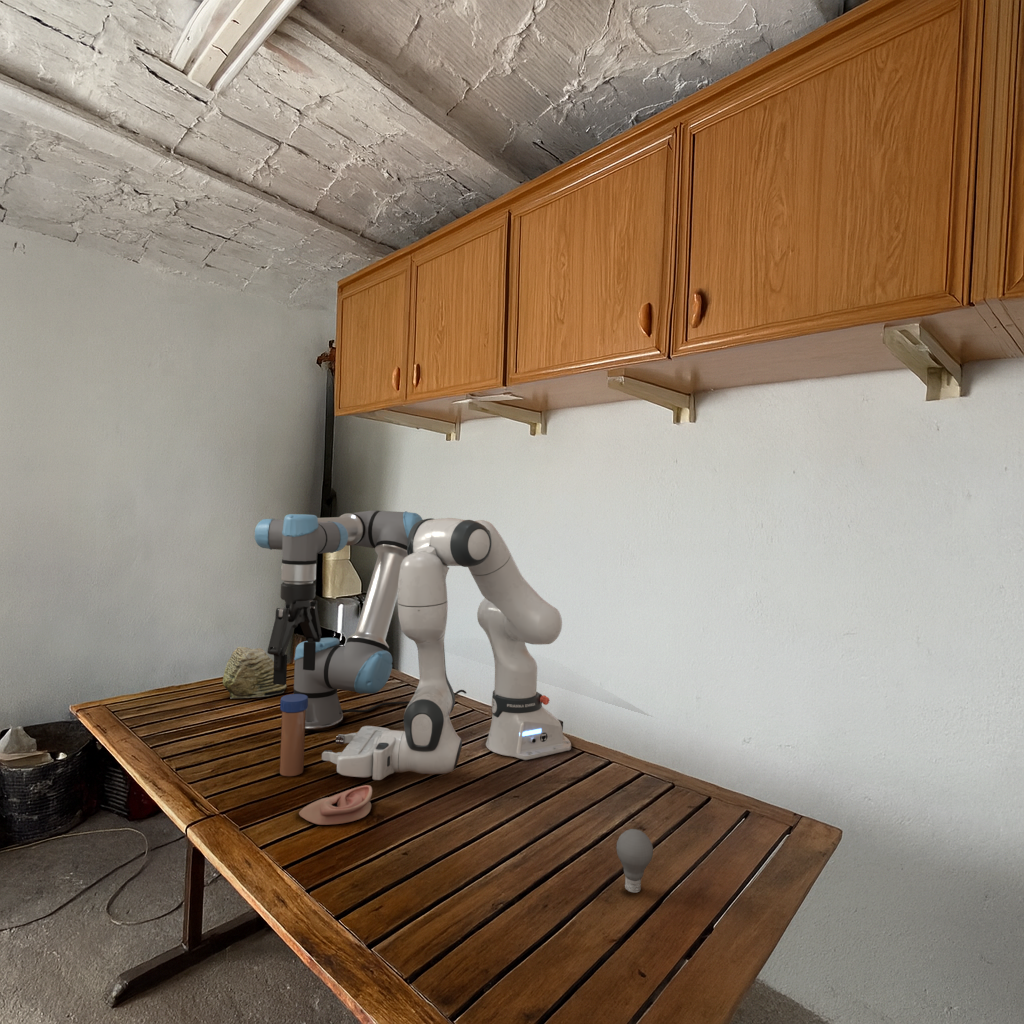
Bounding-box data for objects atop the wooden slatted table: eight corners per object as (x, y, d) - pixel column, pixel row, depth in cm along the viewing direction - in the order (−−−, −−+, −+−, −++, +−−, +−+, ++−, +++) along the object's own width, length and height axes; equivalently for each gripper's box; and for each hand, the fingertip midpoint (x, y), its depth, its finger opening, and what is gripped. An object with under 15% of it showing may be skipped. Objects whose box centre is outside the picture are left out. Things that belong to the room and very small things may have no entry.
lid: (275, 707, 145) (275, 697, 145) (299, 702, 149) (299, 692, 149) (288, 714, 141) (289, 703, 141) (312, 708, 145) (313, 698, 145)
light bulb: (610, 879, 108) (613, 822, 108) (644, 879, 109) (647, 822, 109) (619, 902, 102) (622, 840, 102) (655, 901, 103) (658, 840, 103)
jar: (275, 771, 145) (278, 699, 145) (296, 764, 149) (298, 694, 149) (287, 778, 142) (289, 704, 141) (307, 771, 145) (310, 700, 145)
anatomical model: (291, 800, 123) (320, 775, 134) (290, 820, 123) (320, 794, 134) (354, 810, 120) (379, 784, 132) (353, 830, 121) (378, 803, 132)
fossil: (218, 695, 195) (220, 647, 195) (278, 685, 208) (279, 640, 207) (228, 703, 189) (230, 653, 188) (289, 692, 201) (290, 645, 201)
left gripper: (310, 575, 157) (307, 662, 157) (251, 587, 133) (248, 689, 134) (338, 577, 155) (335, 665, 156) (284, 589, 132) (280, 693, 132)
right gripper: (400, 721, 154) (344, 717, 155) (379, 754, 134) (314, 750, 134) (399, 746, 154) (343, 743, 155) (377, 784, 134) (313, 779, 134)
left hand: (294, 676), depth 145 cm, fingers open, 12 cm apart
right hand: (329, 746), depth 144 cm, fingers open, 8 cm apart
